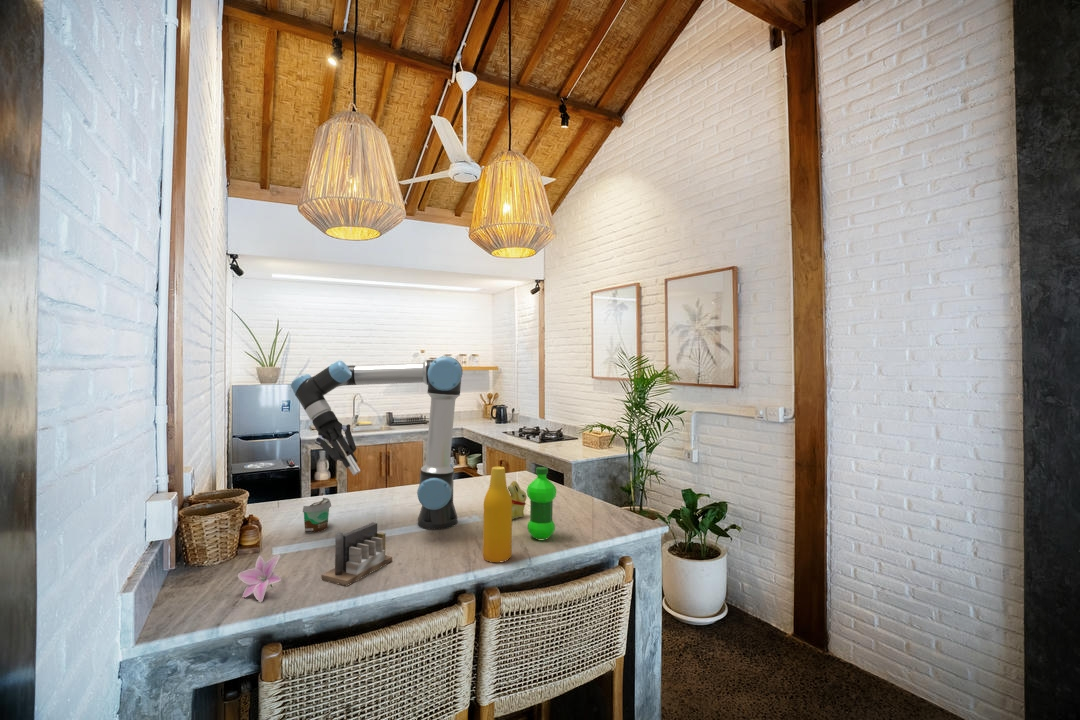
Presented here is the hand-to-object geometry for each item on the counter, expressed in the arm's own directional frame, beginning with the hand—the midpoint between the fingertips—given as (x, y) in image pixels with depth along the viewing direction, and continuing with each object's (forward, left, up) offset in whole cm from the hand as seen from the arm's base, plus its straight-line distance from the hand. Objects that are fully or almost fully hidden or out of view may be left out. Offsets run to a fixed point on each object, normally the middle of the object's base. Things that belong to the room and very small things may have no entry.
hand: (356, 473), depth 172 cm
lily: (+25, +29, -25) cm, 46 cm away
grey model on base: (0, +22, -25) cm, 33 cm away
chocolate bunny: (-60, -10, -25) cm, 66 cm away
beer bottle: (-42, +27, -25) cm, 56 cm away
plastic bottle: (-62, +15, -25) cm, 68 cm away
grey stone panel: (0, +21, -23) cm, 31 cm away
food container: (+12, -21, -25) cm, 35 cm away
